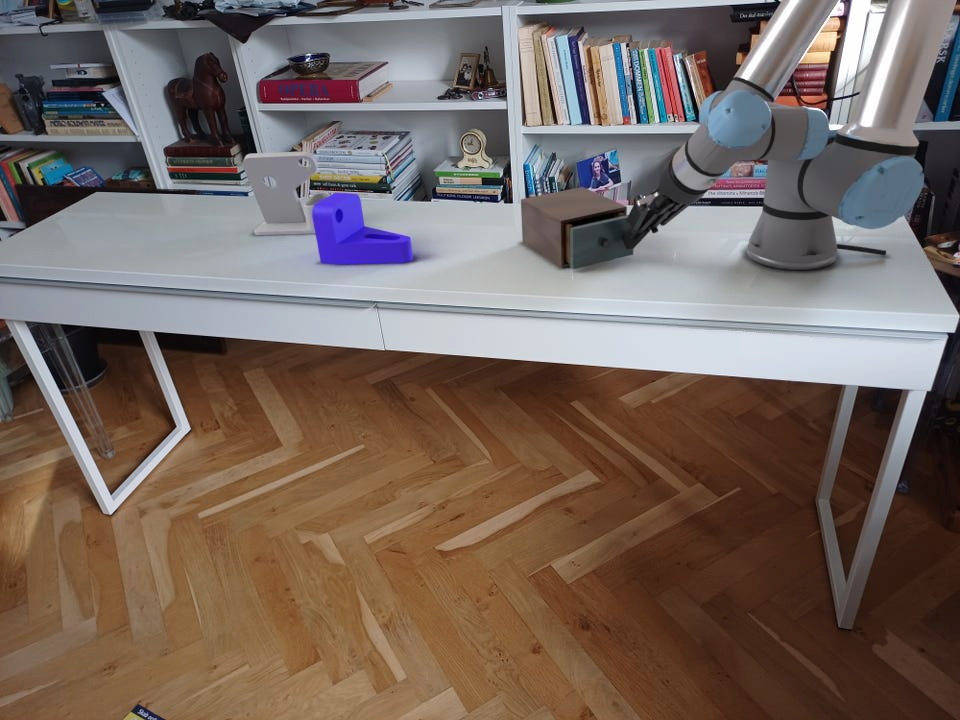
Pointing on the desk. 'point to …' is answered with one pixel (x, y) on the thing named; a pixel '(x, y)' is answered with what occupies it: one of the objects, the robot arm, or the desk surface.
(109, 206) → the desk surface
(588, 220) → the gaming controller
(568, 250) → the drawer
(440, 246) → the desk surface
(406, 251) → the bracket
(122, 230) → the desk surface
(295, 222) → the phone holder
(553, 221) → the cabinet
